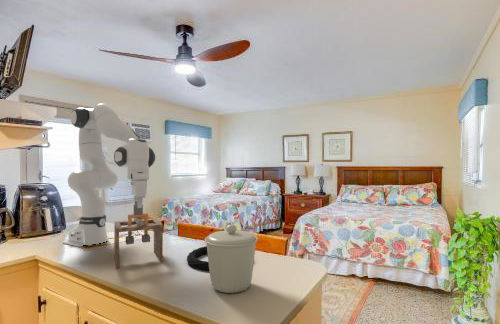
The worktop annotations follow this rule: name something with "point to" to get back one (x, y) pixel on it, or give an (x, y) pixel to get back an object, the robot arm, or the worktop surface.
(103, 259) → the worktop surface
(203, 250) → the cable lock
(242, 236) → the canister
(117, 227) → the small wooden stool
